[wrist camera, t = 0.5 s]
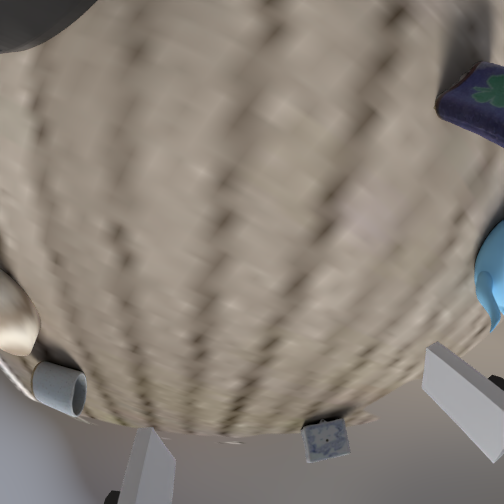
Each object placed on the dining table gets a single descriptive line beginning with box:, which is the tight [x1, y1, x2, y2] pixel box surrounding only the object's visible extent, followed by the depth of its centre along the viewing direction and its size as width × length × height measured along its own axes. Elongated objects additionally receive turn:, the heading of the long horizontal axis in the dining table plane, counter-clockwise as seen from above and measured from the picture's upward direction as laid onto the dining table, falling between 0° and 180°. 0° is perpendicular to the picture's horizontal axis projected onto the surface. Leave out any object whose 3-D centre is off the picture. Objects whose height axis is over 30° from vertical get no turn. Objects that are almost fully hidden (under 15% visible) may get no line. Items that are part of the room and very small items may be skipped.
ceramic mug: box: [31, 361, 87, 417], centre depth 32 cm, size 11×8×8 cm
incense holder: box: [301, 418, 350, 463], centre depth 52 cm, size 10×8×10 cm
